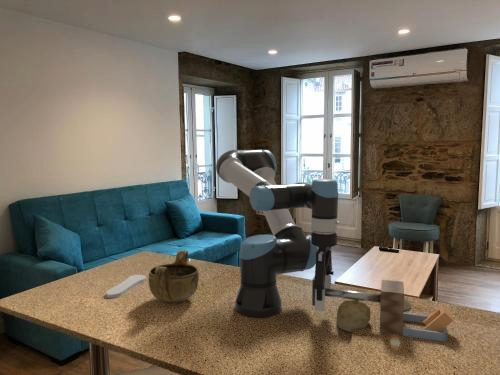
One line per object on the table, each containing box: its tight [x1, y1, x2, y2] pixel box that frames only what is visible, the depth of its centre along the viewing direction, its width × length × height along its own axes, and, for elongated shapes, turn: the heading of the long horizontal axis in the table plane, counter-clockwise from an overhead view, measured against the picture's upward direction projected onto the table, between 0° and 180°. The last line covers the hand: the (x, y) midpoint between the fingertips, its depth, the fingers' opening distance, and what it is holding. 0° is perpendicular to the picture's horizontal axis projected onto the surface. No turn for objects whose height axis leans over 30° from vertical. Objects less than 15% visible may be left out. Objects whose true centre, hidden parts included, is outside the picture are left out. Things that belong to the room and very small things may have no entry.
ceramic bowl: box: [148, 249, 200, 305], centre depth 139 cm, size 22×17×15 cm
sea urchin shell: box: [378, 295, 411, 311], centre depth 131 cm, size 9×8×8 cm
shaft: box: [311, 276, 381, 307], centre depth 119 cm, size 22×3×8 cm, turn 71°
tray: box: [402, 312, 449, 343], centre depth 114 cm, size 11×11×4 cm
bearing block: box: [379, 279, 405, 336], centre depth 116 cm, size 6×10×13 cm, turn 161°
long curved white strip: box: [105, 274, 147, 299], centre depth 153 cm, size 7×22×2 cm, turn 166°
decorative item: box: [336, 299, 372, 333], centre depth 118 cm, size 10×10×10 cm
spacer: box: [422, 305, 454, 332], centre depth 112 cm, size 3×5×7 cm
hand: (323, 302), depth 122 cm, fingers open, 11 cm apart
